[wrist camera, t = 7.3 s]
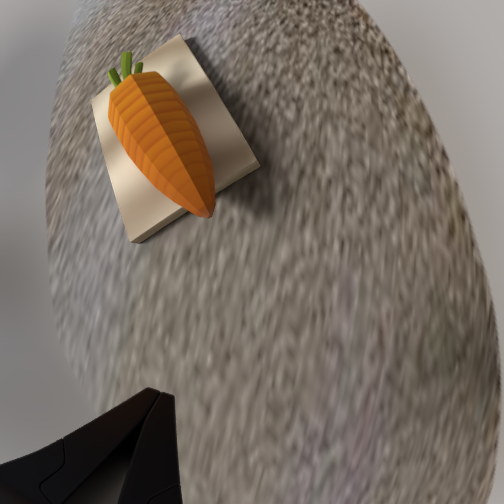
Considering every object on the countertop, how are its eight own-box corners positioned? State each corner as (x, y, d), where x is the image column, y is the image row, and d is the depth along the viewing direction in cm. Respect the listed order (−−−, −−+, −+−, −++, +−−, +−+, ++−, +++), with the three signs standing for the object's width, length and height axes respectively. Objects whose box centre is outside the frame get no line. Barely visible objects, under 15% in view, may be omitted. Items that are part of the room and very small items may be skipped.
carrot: (177, 253, 19) (101, 103, 22) (248, 213, 20) (154, 76, 23) (157, 221, 14) (82, 61, 17) (252, 171, 15) (144, 32, 18)
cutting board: (261, 166, 19) (256, 160, 18) (138, 243, 22) (130, 242, 21) (184, 40, 23) (179, 33, 22) (97, 105, 25) (91, 101, 24)
